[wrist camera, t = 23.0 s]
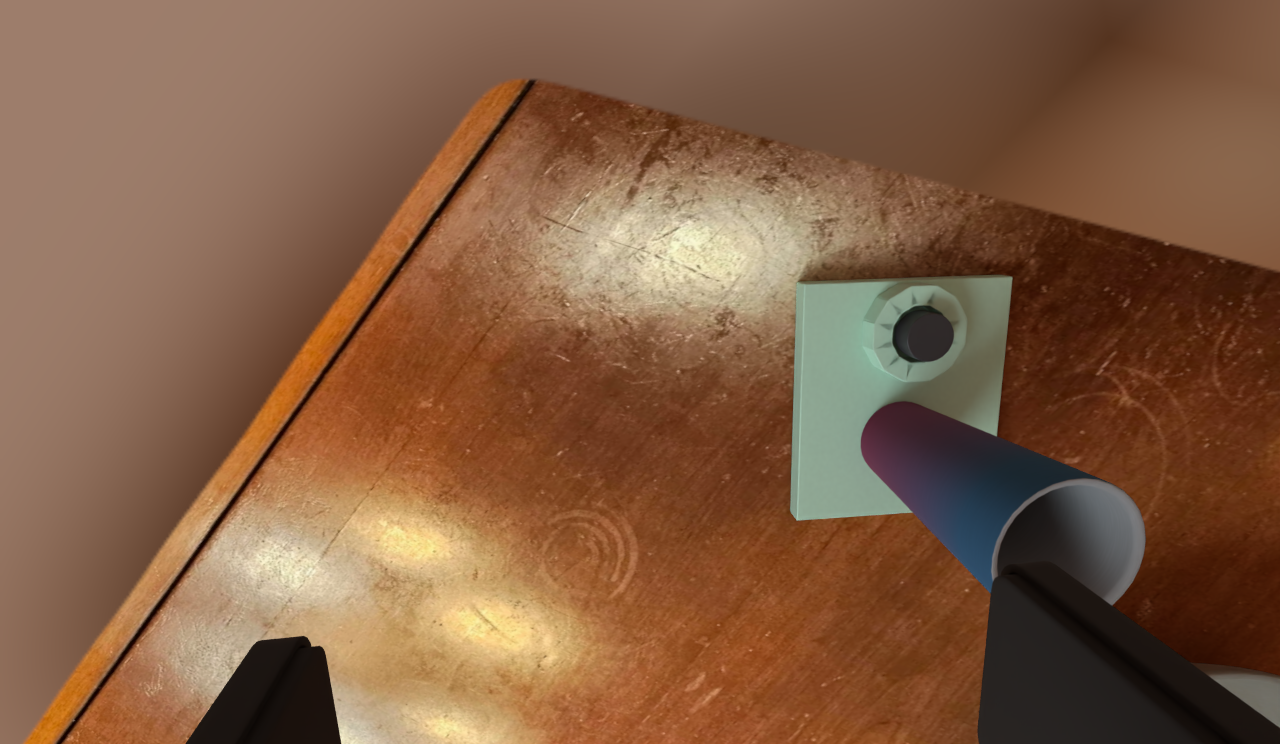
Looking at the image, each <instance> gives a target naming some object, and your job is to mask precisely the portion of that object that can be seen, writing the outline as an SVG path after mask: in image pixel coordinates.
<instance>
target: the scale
mask: <svg viewBox="0 0 1280 744" xmlns="http://www.w3.org/2000/svg"><path fill="white" fill-rule="evenodd" d="M1012 279H1013V278H1012V277H1011V276H1005V275H974V276H945V277H916V278H887V279H858V280H829V281H800V282H797V295H796V330H795V365H794V400H793V435H792V469H791V504H790V511H791V513H792V514H793V516H794V517H795V518H796V520H810V519H824V518H839V517H853V516H867V515H882V514H896V513H910V512H912V511H911V510H910V509H909V508H908V507H907V506H906V505H905V504H904V503H903V502H902V501H901V500H900V499H899V498H898V497H897V495H896V494H895V493H894V492H893V491H892V490H891V489H890V488H889V487H888V486H887V485H886V484H885V483H884V482H883V481H882V480H881V479H880V478H879V477H878V476H877V475H876V474H875V473H874V472H873V471H872V470H871V468H870V467H869V466H868V465H867V463H866V462H865V460H864V458H863V456H862V452H861V436H862V432H863V429H864V427H865V425H866V423H867V422H868V420H869V419H870V417H871V416H872V415H873V414H874V413H875V412H876V411H878V410H879V409H880V408H882V407H884V406H886V405H888V404H891V403H894V402H901V401H907V402H913V403H916V404H919V405H921V406H924V407H926V408H929V409H931V410H934V411H936V412H938V413H941V414H943V415H946V416H948V417H951V418H953V419H955V420H958V421H960V422H963V423H965V424H968V425H970V426H973V427H975V428H977V429H980V430H982V431H985V432H987V433H990V434H992V435H995V436H997V429H998V419H999V409H1000V399H1001V389H1002V379H1003V369H1004V359H1005V349H1006V339H1007V329H1008V319H1009V309H1010V299H1011V289H1012ZM915 310H926V311H930V312H934V313H937V314H941V315H943V316H944V317H946V318H947V319H948V320H949V321H950V323H951V325H952V327H953V330H954V339H953V343H952V346H951V348H950V349H949V351H948V352H947V353H946V354H945V355H944V356H943V357H941V358H940V359H938V360H935V361H932V362H923V361H920V360H917V359H915V358H912V357H910V356H908V355H905V354H904V353H903V352H901V351H900V349H899V348H898V346H897V344H896V341H895V331H896V327H897V325H898V323H899V322H900V320H901V319H902V318H903V317H904V316H905V315H906V314H908V313H910V312H912V311H915Z"/></svg>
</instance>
